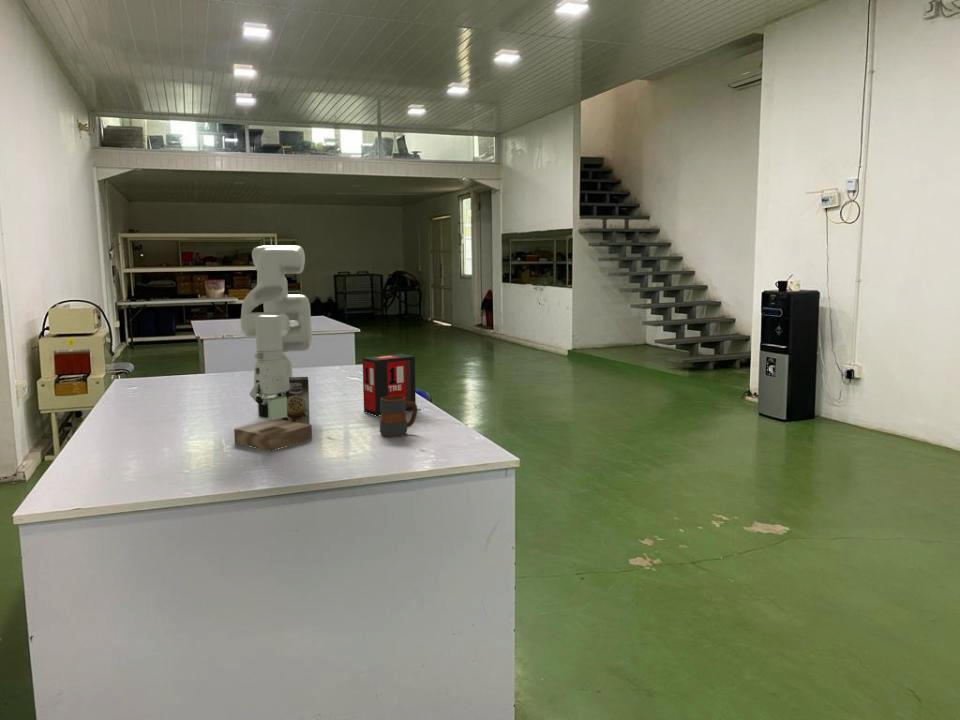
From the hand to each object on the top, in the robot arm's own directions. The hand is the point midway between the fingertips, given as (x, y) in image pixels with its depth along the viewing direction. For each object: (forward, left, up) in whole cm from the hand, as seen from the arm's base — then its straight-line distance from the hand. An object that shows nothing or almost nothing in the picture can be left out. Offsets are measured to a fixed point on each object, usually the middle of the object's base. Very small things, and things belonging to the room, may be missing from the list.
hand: (272, 414), depth 213 cm
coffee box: (-10, +18, -9) cm, 22 cm away
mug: (+26, +28, -9) cm, 39 cm away
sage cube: (0, 0, -1) cm, 1 cm away
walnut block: (0, 0, -9) cm, 9 cm away
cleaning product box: (+2, +52, -9) cm, 53 cm away
